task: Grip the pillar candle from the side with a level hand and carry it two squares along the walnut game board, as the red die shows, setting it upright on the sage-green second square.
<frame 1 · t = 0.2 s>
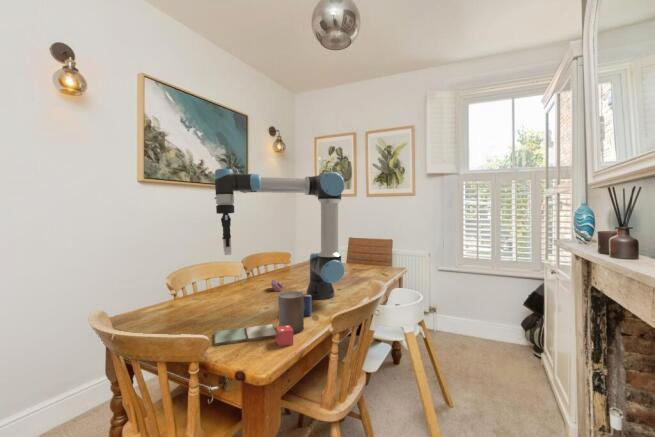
hand: (227, 252, 133), 27 cm above the table, tool pointing down, fingers open, 13 cm apart
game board: (245, 335, 112), on the table
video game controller: (276, 290, 176), on the table
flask: (301, 315, 134), on the table
red die: (284, 342, 106), on the table
pillar candle: (291, 329, 118), on the table
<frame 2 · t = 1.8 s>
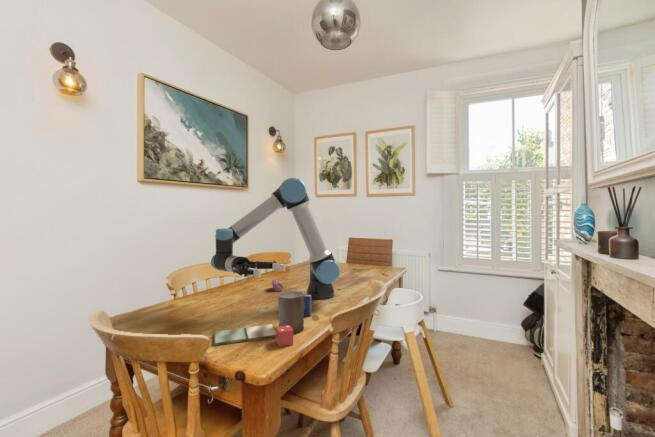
hand: (272, 270, 122), 22 cm above the table, tool horizontal, fingers open, 13 cm apart
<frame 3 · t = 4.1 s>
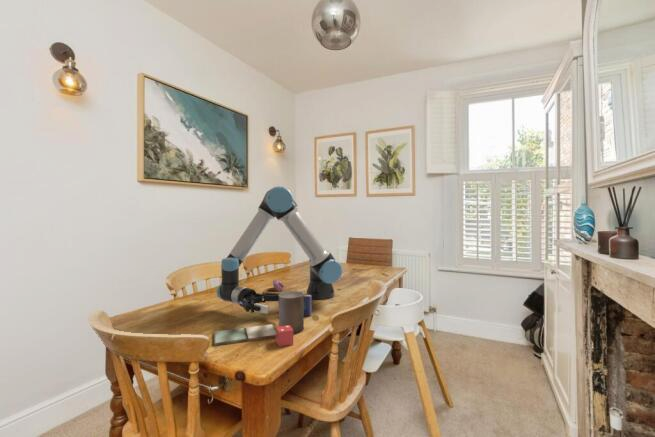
hand: (280, 305, 120), 8 cm above the table, tool horizontal, fingers open, 13 cm apart
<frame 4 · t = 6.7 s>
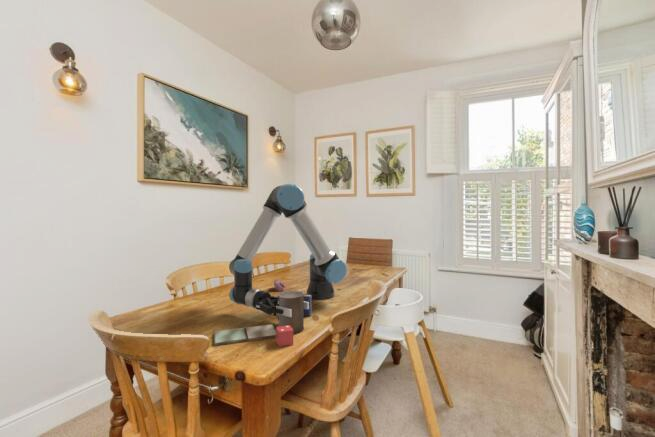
hand: (299, 309, 115), 9 cm above the table, tool horizontal, fingers closed on pillar candle, 9 cm apart
pillar candle: (291, 329, 118), on the table, touching gripper
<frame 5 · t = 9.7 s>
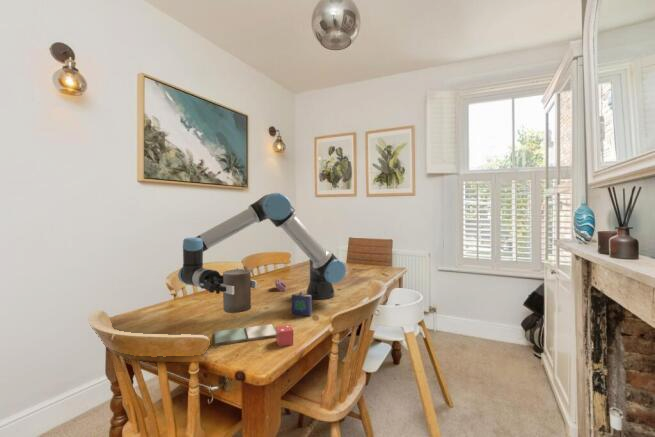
hand: (245, 287, 108), 19 cm above the table, tool horizontal, fingers closed on pillar candle, 9 cm apart
pillar candle: (236, 309, 110), point 10 cm above the table, touching gripper
when the fingers open (11 cm above the table, at t = 12.7 s): pillar candle drops 1 cm, resting on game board.
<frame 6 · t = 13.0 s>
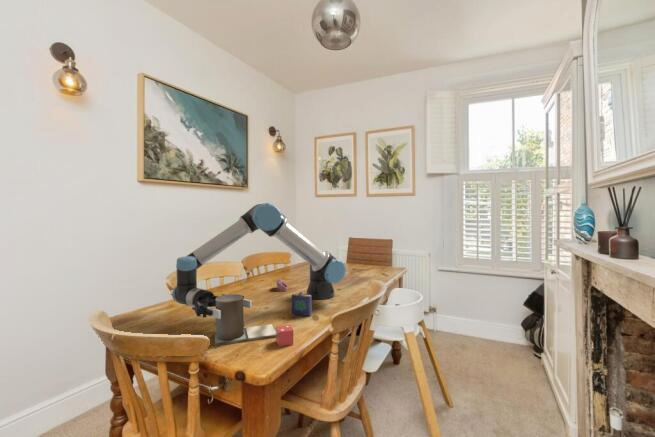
hand: (236, 309, 108), 11 cm above the table, tool horizontal, fingers open, 13 cm apart
pillar candle: (229, 335, 110), point 1 cm above the table, touching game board
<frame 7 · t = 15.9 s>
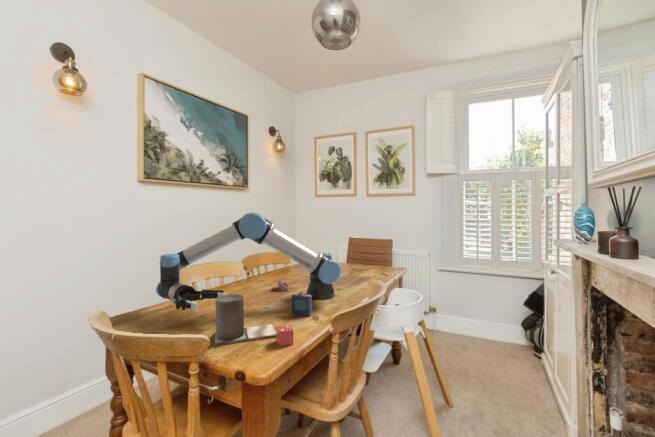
hand: (213, 302, 115), 11 cm above the table, tool horizontal, fingers open, 13 cm apart
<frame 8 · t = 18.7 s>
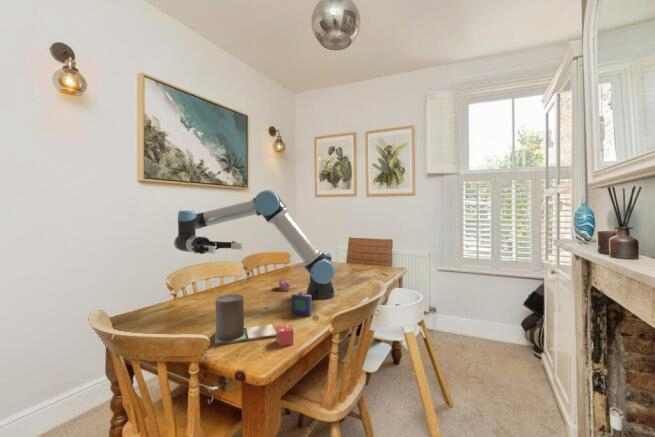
hand: (228, 248, 127), 30 cm above the table, tool horizontal, fingers open, 13 cm apart
at the end: pillar candle inside the target area (0.1 cm from its centre), point 0.7 cm above the table; pillar candle tilted 0°; the gripper is holding nothing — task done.
